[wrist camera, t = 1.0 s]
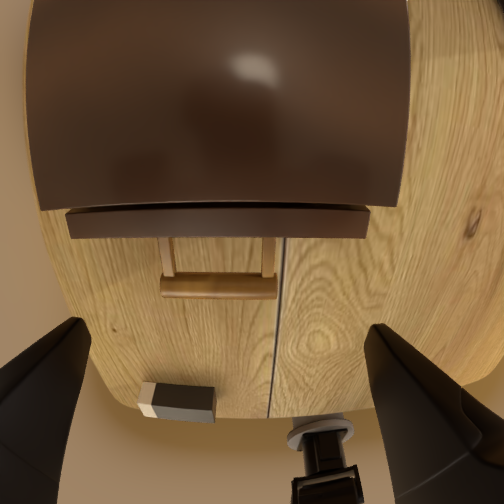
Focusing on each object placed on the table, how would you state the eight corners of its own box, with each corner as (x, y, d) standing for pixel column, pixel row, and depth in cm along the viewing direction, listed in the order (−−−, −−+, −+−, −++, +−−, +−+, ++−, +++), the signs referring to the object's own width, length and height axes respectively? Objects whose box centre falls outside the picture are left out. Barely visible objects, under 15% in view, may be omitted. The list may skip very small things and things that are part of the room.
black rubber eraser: (216, 401, 29) (215, 423, 26) (149, 395, 29) (144, 416, 26) (214, 387, 28) (212, 410, 25) (142, 381, 27) (136, 402, 25)
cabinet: (333, 160, 17) (397, 208, 9) (120, 162, 17) (40, 211, 9) (334, -41, 10) (383, -105, 2) (123, -32, 9) (59, -82, 2)
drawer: (318, 256, 19) (344, 326, 13) (136, 256, 19) (97, 321, 13) (331, -18, 10) (372, -67, 4) (122, -8, 10) (66, -45, 4)
